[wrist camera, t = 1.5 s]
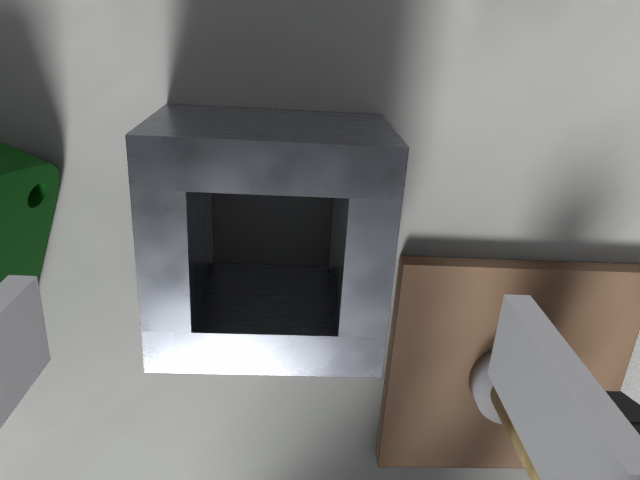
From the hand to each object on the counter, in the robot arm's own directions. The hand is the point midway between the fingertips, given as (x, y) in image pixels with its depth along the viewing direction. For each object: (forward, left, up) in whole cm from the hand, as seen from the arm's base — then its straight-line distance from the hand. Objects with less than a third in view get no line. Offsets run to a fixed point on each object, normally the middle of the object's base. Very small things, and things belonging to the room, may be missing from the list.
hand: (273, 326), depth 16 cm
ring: (0, 0, -10) cm, 10 cm away
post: (+12, -8, -10) cm, 17 cm away
